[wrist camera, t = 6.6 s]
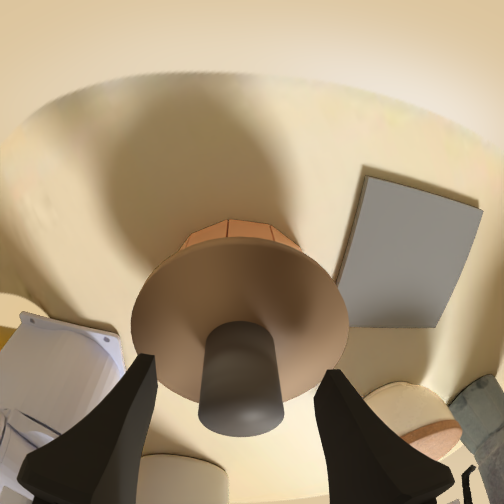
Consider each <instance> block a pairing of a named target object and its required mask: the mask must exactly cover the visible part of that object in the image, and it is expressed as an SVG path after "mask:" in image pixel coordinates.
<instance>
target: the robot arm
mask: <svg viewBox="0 0 504 504" xmlns="http://www.w3.org/2000/svg"><path fill="white" fill-rule="evenodd" d="M20 319H21V322H22V323H21V324H20V326H19V327H18V328H17V330H16V331H15V332H14V333H13V335H12V336H11V337H10V339H9V340H8V342H7V343H6V344H5V346H4V347H3V348H2V350H1V351H0V504H136V494H137V483H138V474H139V467H140V460H141V454H142V450H143V446H144V442H145V438H146V435H147V431H148V428H149V424H150V421H151V417H152V414H153V410H154V406H155V400H156V394H157V388H158V383H157V374H156V363H155V355H149V354H144V353H140V354H138V356H137V357H136V359H135V360H134V362H133V363H132V365H131V366H130V367H129V369H128V370H127V371H126V369H125V364H124V358H123V352H122V346H121V340H120V337H119V336H118V335H117V334H116V333H112V332H107V331H102V330H97V329H93V328H88V327H84V326H79V325H75V324H71V323H66V322H62V321H58V320H54V319H50V318H47V317H43V316H39V315H36V314H32V313H28V312H25V311H22V312H21V313H20ZM106 337H107V338H106ZM108 338H109V339H108ZM314 408H315V417H316V422H317V426H318V430H319V434H320V438H321V442H322V446H323V451H324V455H325V459H326V464H327V472H328V481H329V495H330V504H437V501H436V497H437V496H439V495H440V494H442V493H443V492H445V491H446V490H448V489H449V488H450V487H452V486H453V485H454V483H455V480H454V478H453V475H452V473H451V470H450V468H449V467H448V466H446V465H444V464H441V463H439V462H437V461H435V460H433V459H431V458H430V457H428V456H426V455H425V454H423V453H421V452H420V451H418V450H417V449H415V448H414V447H412V446H411V445H410V444H408V443H407V442H406V441H404V440H403V439H402V438H400V437H399V436H398V435H397V434H396V433H395V432H393V431H392V430H391V429H390V428H389V427H388V426H387V425H386V424H385V423H384V422H383V421H382V420H381V419H380V418H379V417H378V416H377V415H376V414H375V413H374V412H373V410H372V409H371V408H370V407H369V406H368V405H367V403H366V402H365V401H364V400H363V399H362V397H361V396H360V395H359V394H358V392H357V391H356V390H355V388H354V387H353V386H352V385H351V383H350V382H349V381H348V379H347V378H346V377H345V375H344V374H343V373H342V372H341V370H340V369H327V371H326V373H325V375H324V377H323V379H322V381H321V383H320V386H319V388H318V390H317V392H316V394H315V396H314ZM448 504H460V502H459V499H457V500H454V501H452V502H450V503H448Z"/></svg>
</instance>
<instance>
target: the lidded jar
mask: <svg viewBox="0 0 504 504" xmlns="http://www.w3.org/2000/svg"><path fill="white" fill-rule="evenodd" d="M363 400H364V401H365V402H366V403H367V405H368V406H369V407H370V408H371V409H372V410H373V412H374V413H375V414H376V415H377V416H378V417H379V418H380V419H381V420H382V421H383V422H384V423H385V424H386V425H387V426H388V427H389V428H390V429H391V430H392V431H393V432H395V433H396V434H397V435H398V436H399V437H400V438H402V439H403V440H404V441H406V442H407V443H408V444H410V445H411V446H412V447H414V448H415V449H417V450H418V451H420V452H421V453H423V454H425V455H426V456H428V457H430V458H431V459H433V460H435V461H437V460H439V459H440V458H441V457H443V456H444V455H445V454H446V453H448V452H449V451H450V450H451V449H452V448H453V447H454V446H455V445H456V443H457V442H458V441H459V439H460V438H461V435H462V428H461V426H460V425H459V423H458V421H456V420H455V418H454V416H453V414H452V412H451V411H450V409H449V408H448V406H447V405H446V403H445V402H444V401H443V400H442V399H441V398H440V397H439V396H438V395H437V394H436V393H434V392H433V391H431V390H430V389H428V388H426V387H423V386H420V385H414V384H409V383H407V382H394V383H390V384H387V385H384V386H382V387H380V388H378V389H376V390H375V391H373V392H371V393H370V394H369V395H367V396H366V397H365V398H364V399H363Z"/></svg>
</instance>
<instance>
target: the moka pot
mask: <svg viewBox="0 0 504 504" xmlns="http://www.w3.org/2000/svg"><path fill="white" fill-rule="evenodd" d="M449 409H450V411H451V412H452V414H453V416H454V418H455V420H456V421H458V423H459V425H460V426H461V428H462V435H461V438H460V440H461V442H462V443H463V444H464V445H465V446H466V447H467V449H468V450H469V451H470V452H471V453H472V454H474V457H475V459H476V461H477V463H478V465H479V468H478V469H479V471H480V474H481V477H482V480H483V483H484V486H485V489H486V492H487V495H488V498H489V501H490V504H504V392H503V390H502V389H501V387H500V385H499V383H498V382H497V380H496V379H495V377H494V376H493V375H486V376H483V377H482V378H480V379H478V380H476V381H475V382H473V383H472V384H471V385H469V386H468V387H467V388H466V389H465V390H464V391H463V392H462V393H460V394H459V395H458V396H457V398H456V399H455V400H454V401H453V402H452V403H451V405H450V406H449ZM475 468H476V467H475V466H473V465H471V466H470V467H469V468H468V469H467V470H466V471H465V472H464V473H463V474H462V475H461V476H462V487H463V496H464V504H473V503H472V498H471V491H470V487H469V475H470V473H471V472H473V471H474V470H475Z"/></svg>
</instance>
